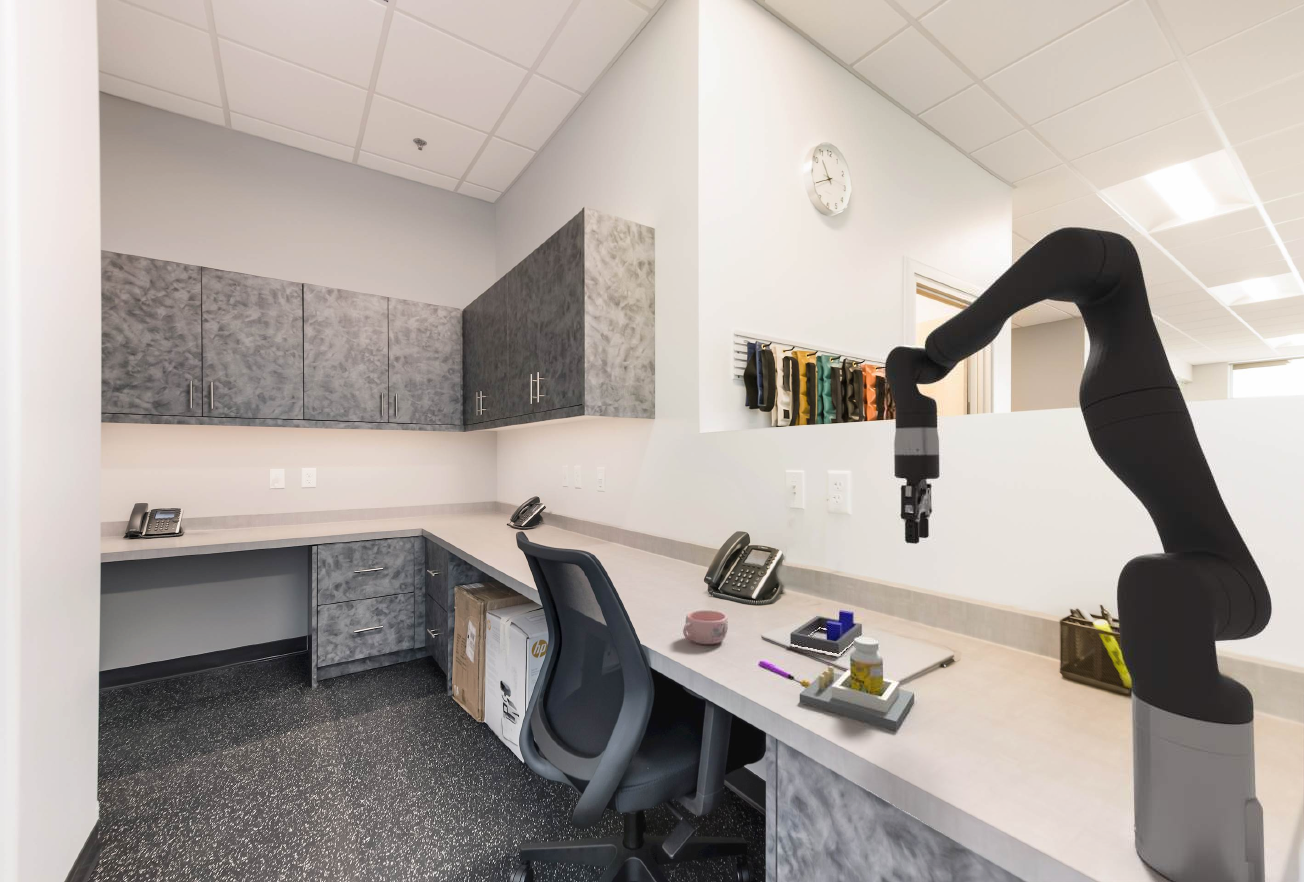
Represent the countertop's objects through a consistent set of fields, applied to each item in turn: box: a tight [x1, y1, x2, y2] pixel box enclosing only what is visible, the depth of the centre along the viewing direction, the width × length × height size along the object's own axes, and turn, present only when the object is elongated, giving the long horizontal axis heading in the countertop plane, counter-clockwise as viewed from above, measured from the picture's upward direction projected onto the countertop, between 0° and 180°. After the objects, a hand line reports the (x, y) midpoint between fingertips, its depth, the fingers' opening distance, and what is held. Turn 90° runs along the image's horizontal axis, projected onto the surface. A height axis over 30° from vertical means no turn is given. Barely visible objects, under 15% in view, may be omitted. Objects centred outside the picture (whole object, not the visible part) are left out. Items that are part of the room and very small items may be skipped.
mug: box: [682, 609, 729, 645], centre depth 126 cm, size 12×10×6 cm
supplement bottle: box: [849, 636, 884, 696], centre depth 94 cm, size 5×5×10 cm
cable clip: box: [826, 609, 855, 641], centre depth 126 cm, size 12×4×6 cm, turn 146°
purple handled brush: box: [758, 660, 811, 688], centre depth 106 cm, size 3×1×16 cm
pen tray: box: [789, 615, 863, 654], centre depth 126 cm, size 11×17×3 cm, turn 143°
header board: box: [799, 665, 915, 731], centre depth 95 cm, size 16×13×4 cm
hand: (917, 540), depth 99 cm, fingers open, 8 cm apart
